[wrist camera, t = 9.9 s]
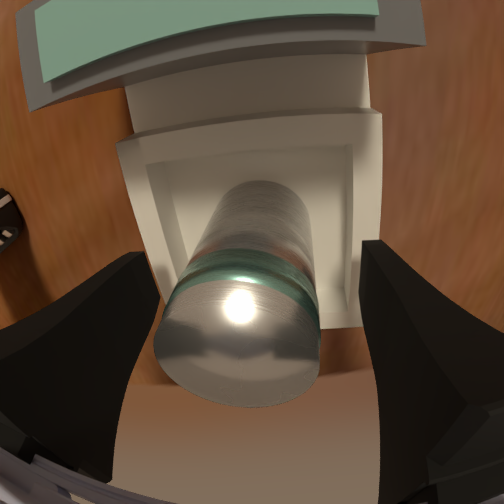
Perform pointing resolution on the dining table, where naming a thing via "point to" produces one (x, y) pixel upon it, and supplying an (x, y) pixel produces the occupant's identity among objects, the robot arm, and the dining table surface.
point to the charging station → (233, 112)
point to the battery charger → (8, 221)
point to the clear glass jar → (246, 303)
